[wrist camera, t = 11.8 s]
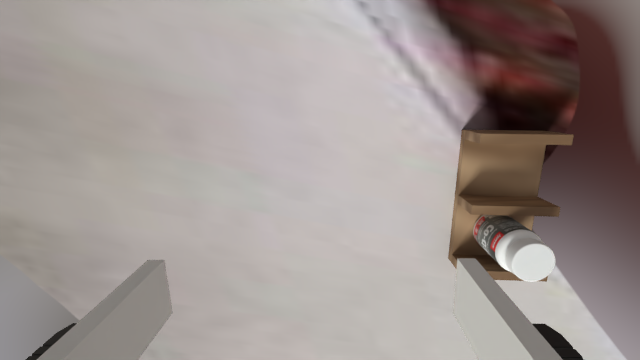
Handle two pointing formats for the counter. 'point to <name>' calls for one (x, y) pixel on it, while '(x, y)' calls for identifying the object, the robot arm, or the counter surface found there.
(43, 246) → the counter surface
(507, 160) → the rack
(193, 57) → the counter surface
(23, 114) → the counter surface
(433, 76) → the counter surface
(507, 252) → the pill bottle
